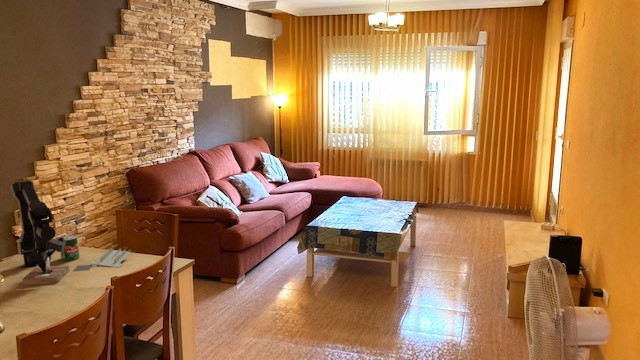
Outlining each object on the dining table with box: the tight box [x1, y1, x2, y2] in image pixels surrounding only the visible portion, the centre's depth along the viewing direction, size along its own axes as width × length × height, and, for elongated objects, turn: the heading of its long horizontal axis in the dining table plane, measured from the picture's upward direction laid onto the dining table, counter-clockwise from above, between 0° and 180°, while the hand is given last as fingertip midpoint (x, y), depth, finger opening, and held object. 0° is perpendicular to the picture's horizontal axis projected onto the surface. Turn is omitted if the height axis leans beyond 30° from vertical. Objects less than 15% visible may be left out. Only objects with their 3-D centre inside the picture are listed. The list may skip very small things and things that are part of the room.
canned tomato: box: [60, 234, 80, 262], centre depth 242 cm, size 8×8×11 cm
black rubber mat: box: [72, 264, 93, 272], centre depth 231 cm, size 7×7×1 cm
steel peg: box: [42, 257, 51, 274], centre depth 219 cm, size 3×3×8 cm
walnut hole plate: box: [21, 264, 71, 286], centre depth 220 cm, size 14×14×3 cm
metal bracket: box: [90, 248, 131, 269], centre depth 238 cm, size 14×6×15 cm
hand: (46, 269), depth 219 cm, fingers open, 3 cm apart
